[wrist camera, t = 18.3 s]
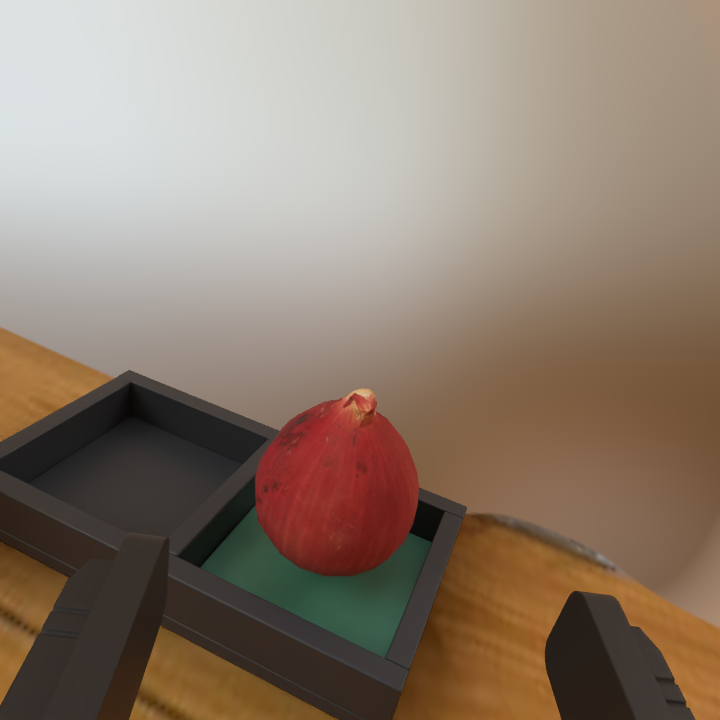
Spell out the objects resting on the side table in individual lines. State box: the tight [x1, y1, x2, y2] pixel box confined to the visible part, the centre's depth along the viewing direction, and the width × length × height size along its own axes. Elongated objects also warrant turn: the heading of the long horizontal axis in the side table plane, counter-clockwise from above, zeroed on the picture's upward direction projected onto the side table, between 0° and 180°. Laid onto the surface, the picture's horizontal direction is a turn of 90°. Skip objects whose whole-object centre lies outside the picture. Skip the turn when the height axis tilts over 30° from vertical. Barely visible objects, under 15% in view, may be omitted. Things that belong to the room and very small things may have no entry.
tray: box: [0, 370, 467, 720], centre depth 24 cm, size 9×17×3 cm, turn 68°
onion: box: [255, 389, 419, 576], centre depth 21 cm, size 6×6×8 cm
